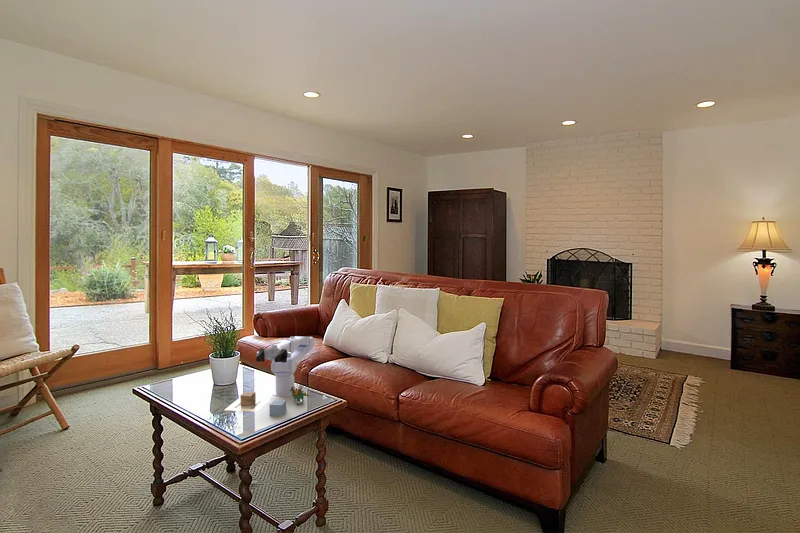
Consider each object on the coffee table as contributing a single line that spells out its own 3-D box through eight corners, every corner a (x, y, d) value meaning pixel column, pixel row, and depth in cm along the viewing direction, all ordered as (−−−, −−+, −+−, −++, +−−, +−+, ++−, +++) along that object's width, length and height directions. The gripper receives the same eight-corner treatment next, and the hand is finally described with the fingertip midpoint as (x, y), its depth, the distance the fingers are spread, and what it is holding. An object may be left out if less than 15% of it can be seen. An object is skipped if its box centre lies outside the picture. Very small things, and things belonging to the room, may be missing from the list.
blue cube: (274, 412, 179) (274, 399, 179) (286, 412, 179) (286, 400, 178) (269, 417, 174) (269, 404, 174) (281, 417, 174) (281, 405, 173)
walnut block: (245, 402, 188) (245, 391, 188) (255, 402, 188) (255, 392, 188) (240, 406, 184) (240, 395, 184) (251, 406, 184) (250, 395, 183)
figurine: (293, 399, 193) (292, 381, 192) (312, 405, 186) (312, 386, 185) (287, 401, 190) (287, 383, 190) (307, 408, 183) (307, 388, 183)
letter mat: (239, 398, 194) (239, 397, 194) (270, 399, 192) (270, 398, 192) (224, 411, 180) (224, 410, 180) (257, 412, 178) (257, 411, 178)
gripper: (262, 342, 193) (249, 349, 180) (294, 343, 192) (283, 350, 178) (262, 358, 194) (249, 366, 180) (294, 359, 192) (283, 367, 179)
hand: (266, 359), depth 179 cm, fingers open, 7 cm apart
